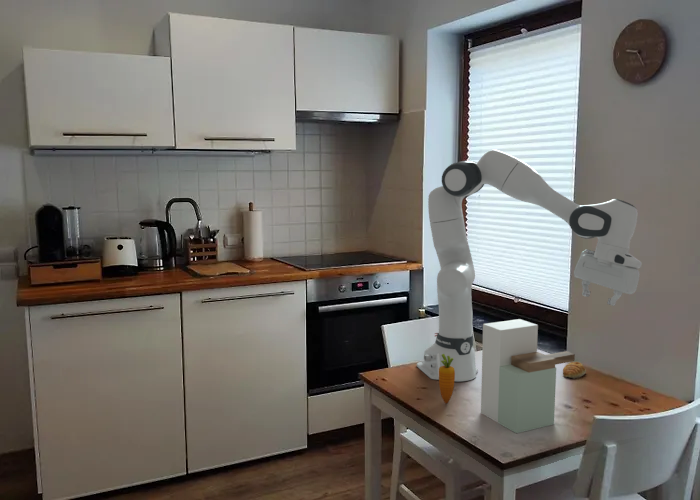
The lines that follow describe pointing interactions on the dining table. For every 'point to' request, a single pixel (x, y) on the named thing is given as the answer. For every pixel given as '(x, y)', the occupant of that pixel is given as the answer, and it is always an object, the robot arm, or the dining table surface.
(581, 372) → the pastry
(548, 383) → the white two-tone stepped block
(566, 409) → the dining table surface
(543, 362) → the brown block
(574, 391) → the dining table surface
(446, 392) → the carrot
